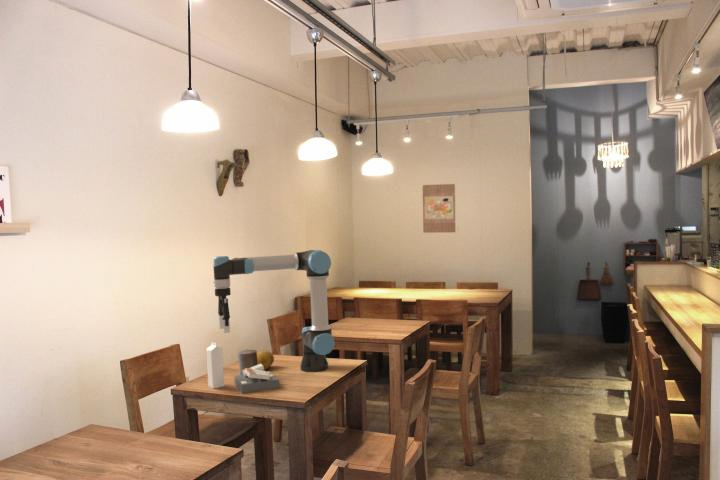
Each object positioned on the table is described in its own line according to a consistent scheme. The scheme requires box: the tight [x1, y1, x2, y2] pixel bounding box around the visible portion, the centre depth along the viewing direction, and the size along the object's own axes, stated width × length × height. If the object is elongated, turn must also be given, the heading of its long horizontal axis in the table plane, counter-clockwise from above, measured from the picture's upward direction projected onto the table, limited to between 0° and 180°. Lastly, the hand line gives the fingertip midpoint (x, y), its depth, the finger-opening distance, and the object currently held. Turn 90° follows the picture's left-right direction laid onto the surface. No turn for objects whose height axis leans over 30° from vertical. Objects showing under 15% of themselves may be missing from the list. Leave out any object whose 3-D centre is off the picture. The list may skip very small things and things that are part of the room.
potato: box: [257, 349, 275, 371], centre depth 331 cm, size 10×12×10 cm
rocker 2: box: [244, 368, 268, 375], centre depth 295 cm, size 10×5×2 cm, turn 112°
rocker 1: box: [242, 364, 265, 377], centre depth 301 cm, size 10×5×2 cm, turn 112°
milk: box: [205, 341, 225, 389], centre depth 298 cm, size 6×6×22 cm
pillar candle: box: [237, 349, 258, 376], centre depth 313 cm, size 10×10×15 cm
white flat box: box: [247, 371, 270, 380], centre depth 289 cm, size 10×5×2 cm, turn 112°
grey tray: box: [233, 371, 280, 394], centre depth 295 cm, size 18×19×5 cm
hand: (224, 330), depth 295 cm, fingers open, 13 cm apart
